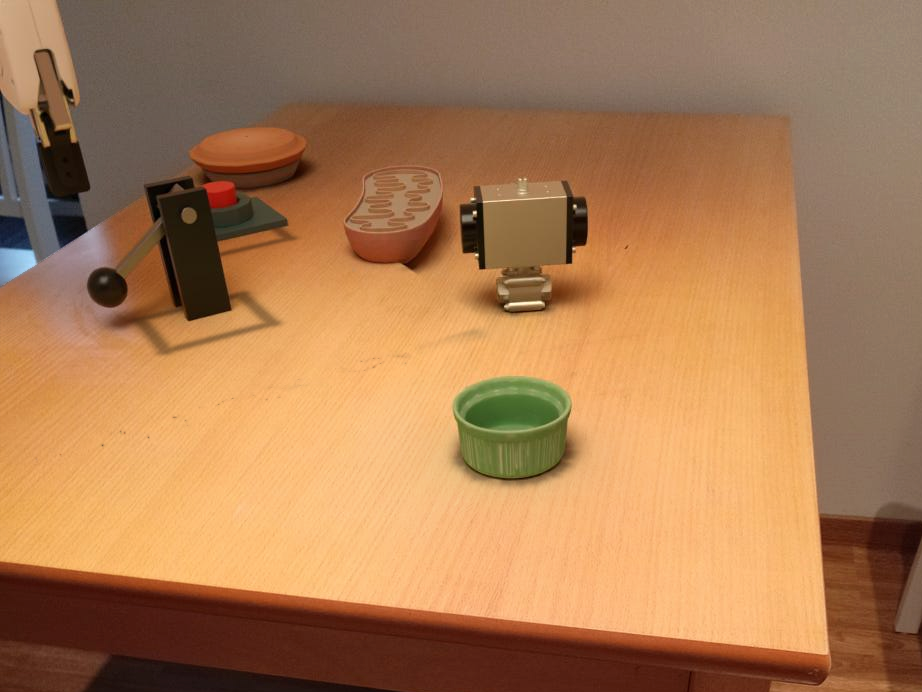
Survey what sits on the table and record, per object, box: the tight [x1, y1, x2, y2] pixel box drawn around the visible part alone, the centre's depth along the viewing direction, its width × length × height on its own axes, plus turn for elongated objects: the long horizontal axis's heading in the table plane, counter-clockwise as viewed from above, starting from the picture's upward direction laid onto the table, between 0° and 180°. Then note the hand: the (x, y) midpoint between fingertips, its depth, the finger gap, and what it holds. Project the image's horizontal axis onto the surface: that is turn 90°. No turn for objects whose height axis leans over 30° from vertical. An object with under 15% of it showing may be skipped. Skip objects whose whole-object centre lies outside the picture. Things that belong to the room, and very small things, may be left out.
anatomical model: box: [342, 164, 444, 265], centre depth 114 cm, size 23×10×5 cm, turn 177°
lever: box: [86, 184, 184, 309], centre depth 94 cm, size 13×4×4 cm
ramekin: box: [452, 375, 573, 479], centre depth 78 cm, size 9×9×4 cm
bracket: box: [143, 175, 233, 322], centre depth 97 cm, size 11×9×13 cm
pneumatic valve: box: [459, 176, 589, 313], centre depth 97 cm, size 6×12×12 cm, turn 93°
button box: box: [211, 191, 289, 242], centre depth 118 cm, size 12×10×4 cm
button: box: [200, 181, 238, 209], centre depth 116 cm, size 4×4×2 cm
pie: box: [188, 126, 308, 190], centre depth 135 cm, size 15×16×5 cm
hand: (70, 191), depth 89 cm, fingers closed
